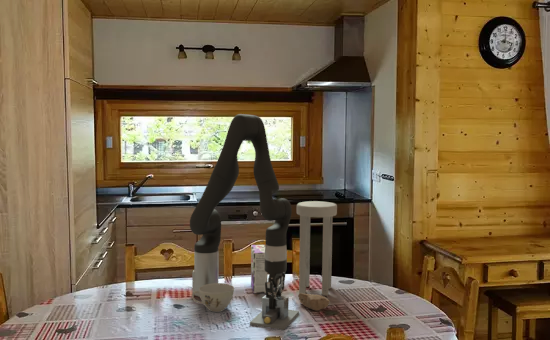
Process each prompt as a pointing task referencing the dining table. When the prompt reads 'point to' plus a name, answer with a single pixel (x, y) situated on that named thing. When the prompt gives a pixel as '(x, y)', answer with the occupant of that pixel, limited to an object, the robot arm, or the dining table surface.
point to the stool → (306, 212)
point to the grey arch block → (280, 302)
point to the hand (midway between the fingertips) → (275, 306)
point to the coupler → (274, 319)
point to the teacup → (215, 296)
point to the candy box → (258, 268)
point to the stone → (313, 301)
